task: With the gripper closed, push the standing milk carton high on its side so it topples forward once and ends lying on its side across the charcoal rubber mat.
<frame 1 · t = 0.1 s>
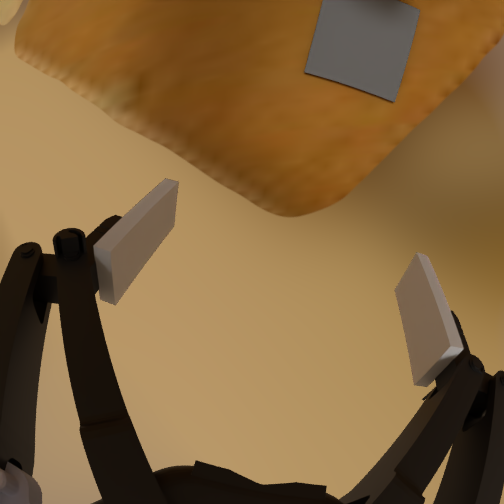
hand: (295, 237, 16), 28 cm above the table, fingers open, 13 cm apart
mat: (363, 37, 31), on the table
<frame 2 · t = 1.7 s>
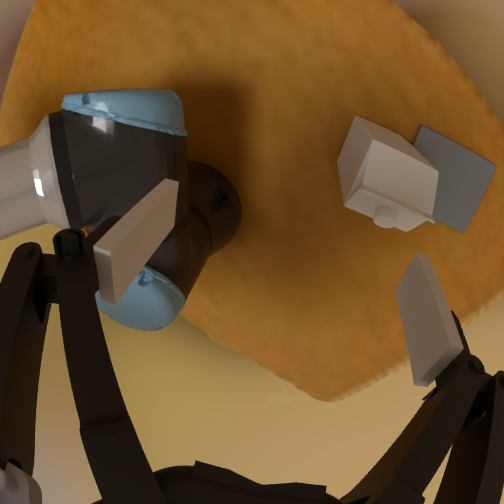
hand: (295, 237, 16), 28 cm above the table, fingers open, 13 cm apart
milk carton: (369, 147, 39), on the table
mat: (444, 180, 38), on the table
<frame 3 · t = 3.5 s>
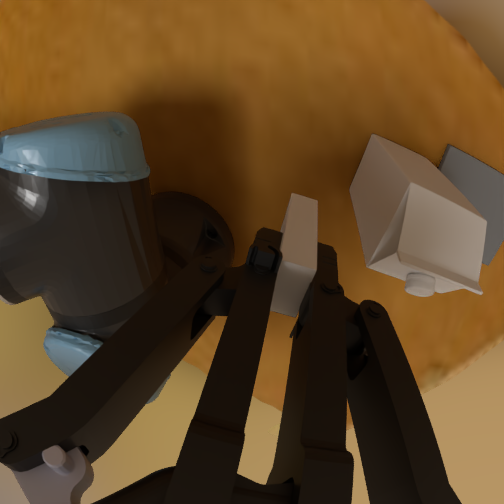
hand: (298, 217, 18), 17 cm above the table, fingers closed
milk carton: (388, 172, 32), on the table
mat: (472, 209, 32), on the table
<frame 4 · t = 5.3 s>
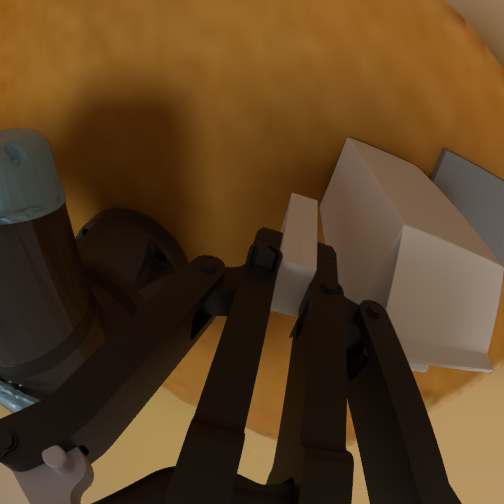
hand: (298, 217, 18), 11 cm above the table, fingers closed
milk carton: (367, 184, 27), on the table, touching hand
mat: (471, 226, 26), on the table
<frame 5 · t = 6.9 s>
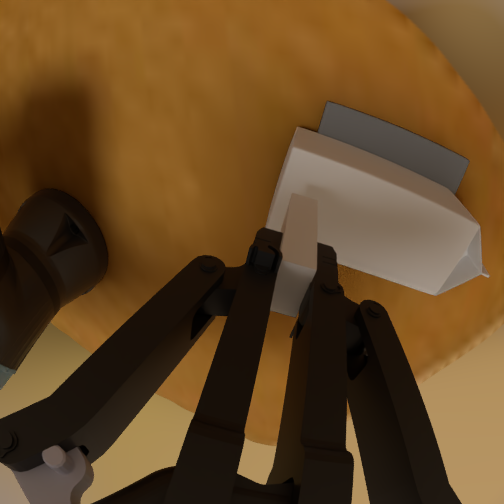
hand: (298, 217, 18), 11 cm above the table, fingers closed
milk carton: (276, 176, 23), point 4 cm above the table, touching mat
mat: (380, 188, 27), on the table
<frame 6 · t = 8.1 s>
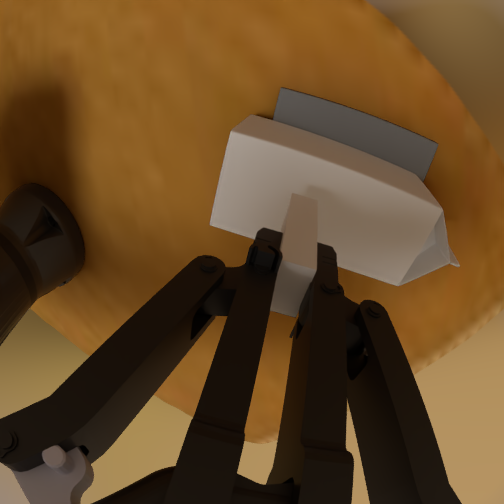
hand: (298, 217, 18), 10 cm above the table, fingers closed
milk carton: (226, 163, 23), point 4 cm above the table, touching mat
mat: (342, 175, 26), on the table
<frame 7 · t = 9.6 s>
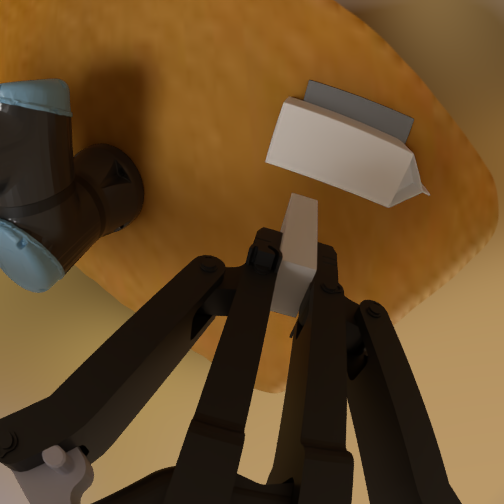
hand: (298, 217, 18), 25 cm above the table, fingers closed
milk carton: (274, 125, 34), point 4 cm above the table, touching mat
mat: (348, 139, 38), on the table
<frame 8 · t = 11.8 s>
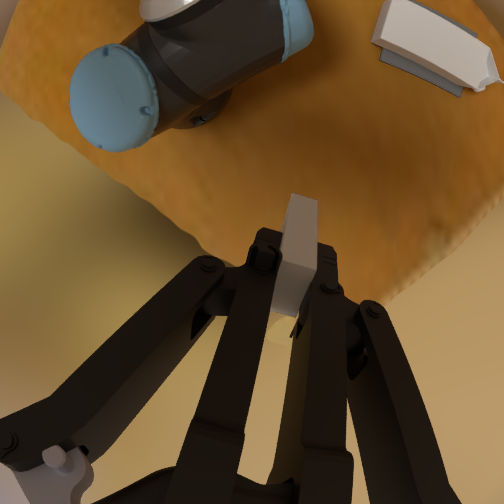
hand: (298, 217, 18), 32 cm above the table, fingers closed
milk carton: (379, 18, 30), point 4 cm above the table, touching mat
mat: (430, 44, 33), on the table
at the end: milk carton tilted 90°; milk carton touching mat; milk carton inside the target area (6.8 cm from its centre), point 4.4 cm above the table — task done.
